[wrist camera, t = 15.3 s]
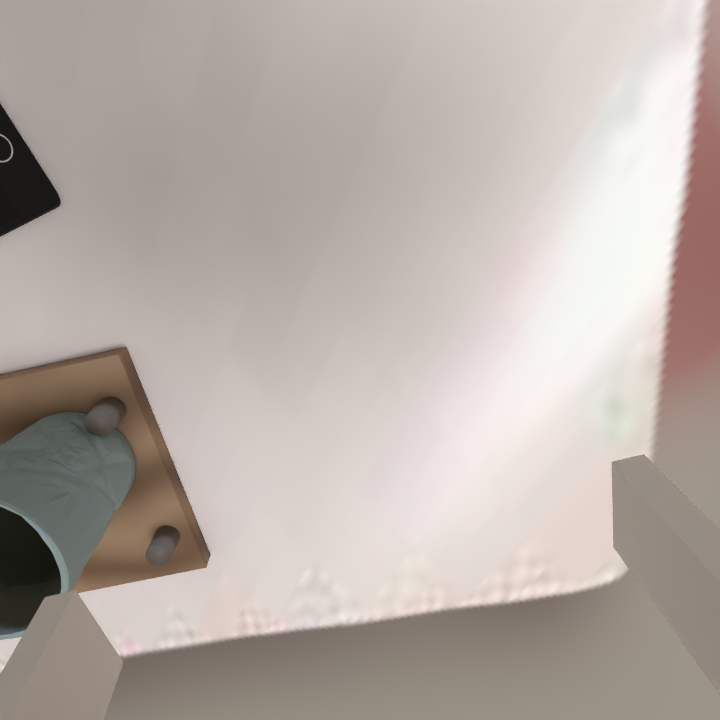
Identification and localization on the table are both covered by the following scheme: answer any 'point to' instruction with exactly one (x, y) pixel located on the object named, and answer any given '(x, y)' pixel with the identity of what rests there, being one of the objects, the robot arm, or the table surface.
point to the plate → (153, 462)
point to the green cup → (54, 509)
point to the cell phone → (21, 181)
